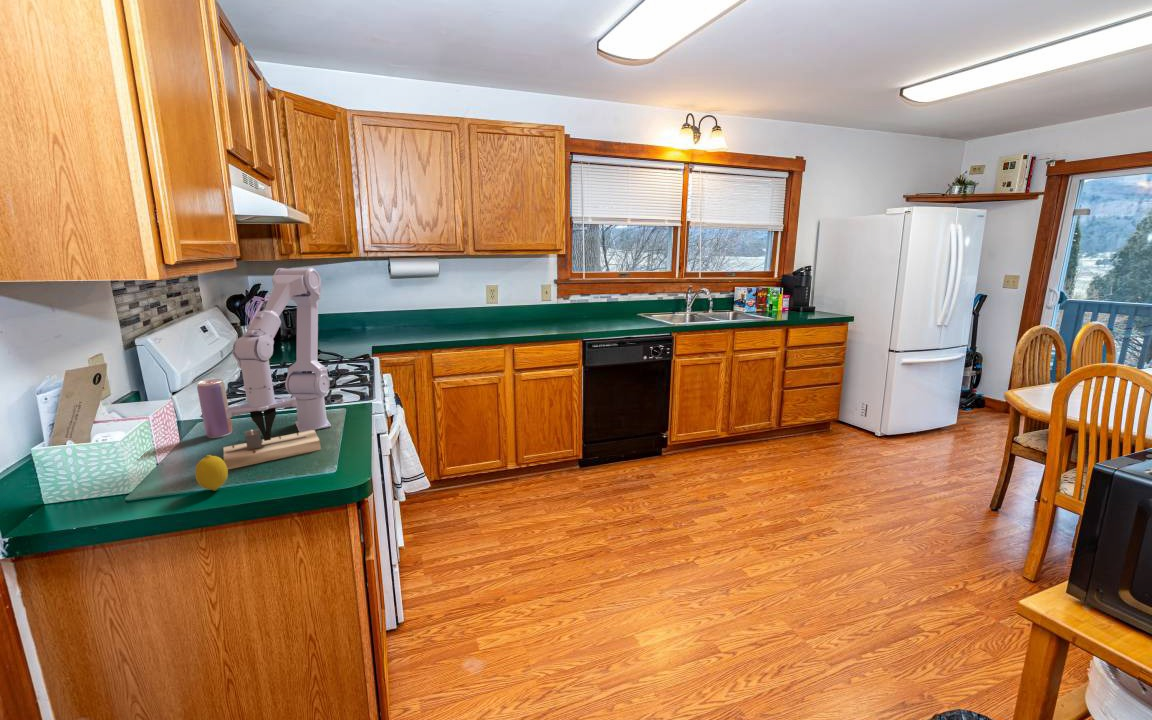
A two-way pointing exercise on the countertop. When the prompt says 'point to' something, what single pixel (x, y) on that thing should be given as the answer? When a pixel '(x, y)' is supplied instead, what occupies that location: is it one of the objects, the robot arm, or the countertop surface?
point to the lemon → (211, 472)
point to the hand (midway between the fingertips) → (267, 439)
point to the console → (271, 449)
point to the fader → (253, 439)
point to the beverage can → (214, 408)
